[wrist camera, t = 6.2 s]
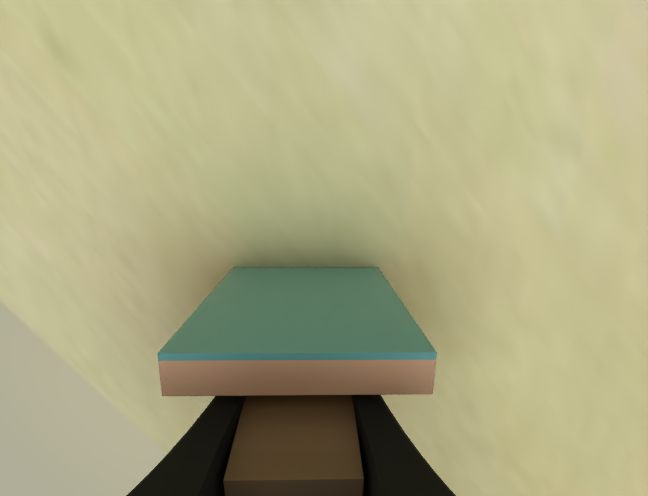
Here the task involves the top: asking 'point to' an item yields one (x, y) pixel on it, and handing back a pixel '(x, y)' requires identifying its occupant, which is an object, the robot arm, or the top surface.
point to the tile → (299, 337)
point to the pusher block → (295, 447)
